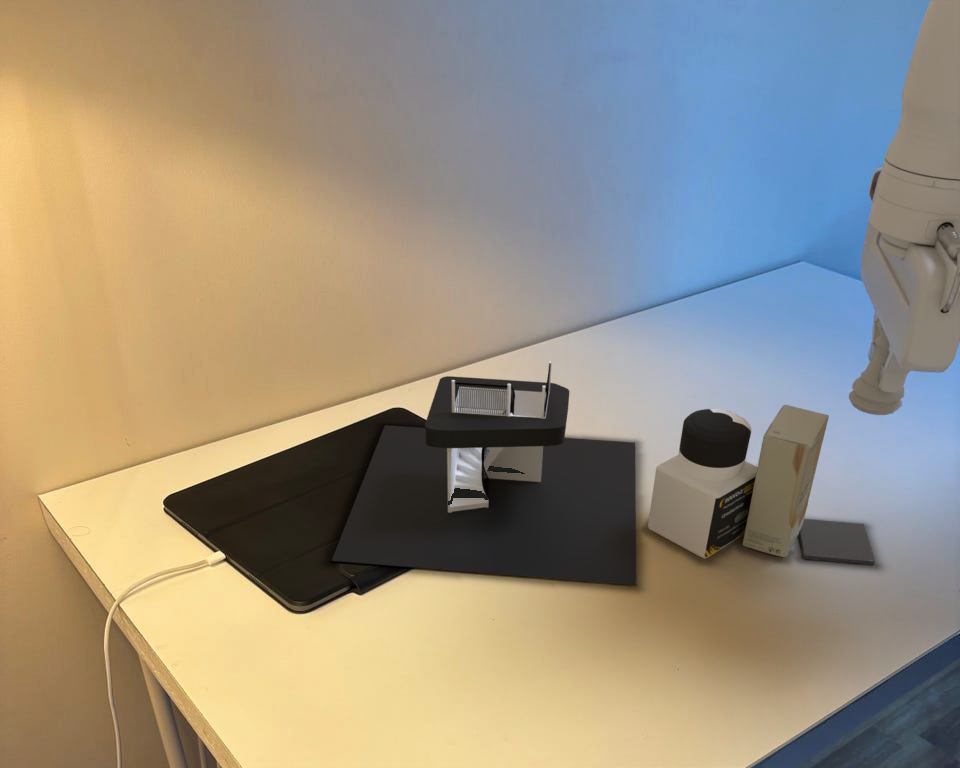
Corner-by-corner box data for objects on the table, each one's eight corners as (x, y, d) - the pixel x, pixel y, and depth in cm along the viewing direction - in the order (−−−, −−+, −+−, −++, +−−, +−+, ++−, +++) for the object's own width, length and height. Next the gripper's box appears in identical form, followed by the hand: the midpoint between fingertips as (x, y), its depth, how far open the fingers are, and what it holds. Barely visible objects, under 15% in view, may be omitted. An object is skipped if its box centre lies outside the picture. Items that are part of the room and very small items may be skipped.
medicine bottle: (704, 561, 92) (727, 446, 84) (645, 529, 96) (662, 417, 88) (749, 532, 96) (775, 420, 88) (691, 502, 100) (710, 393, 92)
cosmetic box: (785, 560, 92) (811, 448, 84) (740, 547, 94) (761, 436, 85) (804, 523, 96) (831, 412, 88) (761, 511, 98) (783, 401, 89)
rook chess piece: (868, 388, 88) (894, 299, 83) (911, 407, 85) (941, 317, 80) (836, 401, 86) (860, 311, 80) (879, 421, 83) (907, 330, 78)
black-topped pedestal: (331, 561, 91) (318, 432, 82) (384, 426, 111) (378, 310, 102) (636, 586, 89) (655, 455, 80) (635, 443, 109) (650, 326, 100)
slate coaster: (862, 527, 97) (864, 523, 96) (874, 565, 92) (875, 561, 92) (796, 521, 97) (797, 518, 97) (803, 559, 92) (804, 555, 92)
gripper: (1016, 254, 66) (949, 438, 75) (947, 170, 82) (899, 330, 91) (919, 249, 67) (865, 431, 76) (869, 166, 83) (829, 325, 92)
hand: (883, 375), depth 84 cm, fingers closed on rook chess piece, 3 cm apart
